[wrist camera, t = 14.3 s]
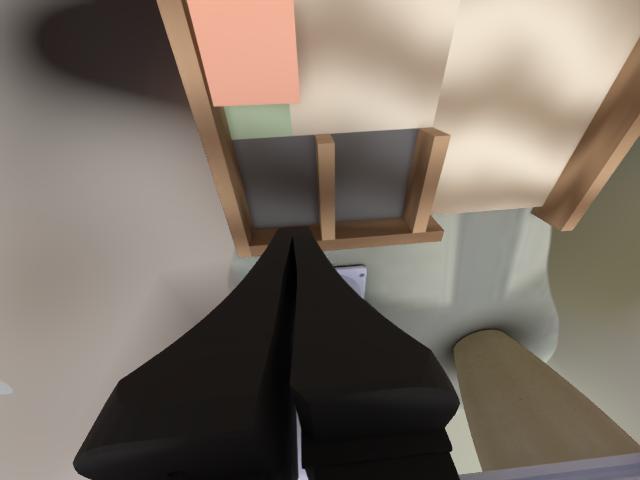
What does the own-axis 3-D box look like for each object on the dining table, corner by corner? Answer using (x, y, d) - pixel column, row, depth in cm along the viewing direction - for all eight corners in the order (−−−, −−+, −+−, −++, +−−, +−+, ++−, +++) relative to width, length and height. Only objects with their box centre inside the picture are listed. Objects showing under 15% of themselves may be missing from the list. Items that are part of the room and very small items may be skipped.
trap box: (541, 212, 22) (572, 230, 19) (245, 235, 21) (238, 257, 18) (716, -88, 12) (825, -129, 9) (159, -73, 11) (119, -114, 8)
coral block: (299, 95, 14) (300, 103, 11) (232, 97, 14) (213, 106, 11) (293, 3, 12) (292, -21, 9) (213, 4, 12) (181, -19, 9)
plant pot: (431, 323, 31) (527, 504, 18) (547, 303, 30) (731, 475, 18) (423, 375, 40) (483, 521, 27) (513, 360, 39) (618, 502, 26)
